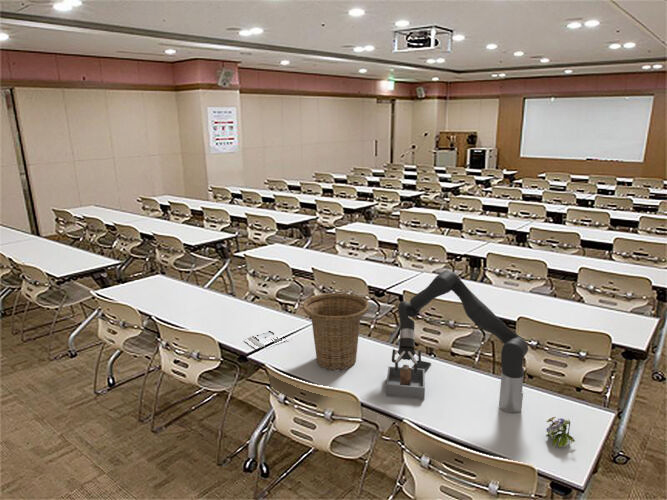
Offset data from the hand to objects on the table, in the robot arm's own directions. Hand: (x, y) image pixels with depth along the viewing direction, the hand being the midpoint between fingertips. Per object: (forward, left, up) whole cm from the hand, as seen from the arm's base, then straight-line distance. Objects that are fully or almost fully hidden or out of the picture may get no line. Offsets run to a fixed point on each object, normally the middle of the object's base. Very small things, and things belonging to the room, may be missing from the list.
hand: (405, 371), depth 235 cm
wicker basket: (+38, -22, -9) cm, 45 cm away
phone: (-7, -20, -10) cm, 24 cm away
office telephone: (+84, -42, -10) cm, 95 cm away
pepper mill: (0, 0, -8) cm, 8 cm away
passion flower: (-63, +31, -9) cm, 71 cm away
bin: (0, 0, -9) cm, 9 cm away
